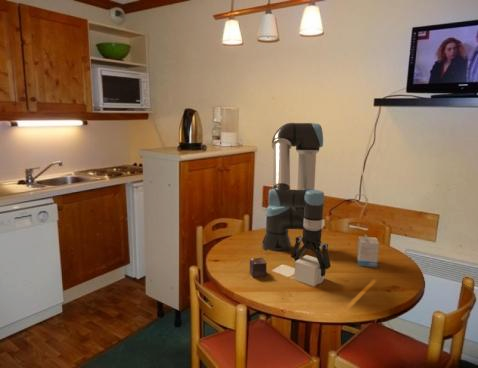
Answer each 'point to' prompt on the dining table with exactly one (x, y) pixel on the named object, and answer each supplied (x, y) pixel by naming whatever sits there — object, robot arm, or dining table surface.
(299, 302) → the dining table surface
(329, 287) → the dining table surface
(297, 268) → the block
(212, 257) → the dining table surface
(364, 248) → the ink box
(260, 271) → the box
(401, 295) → the dining table surface
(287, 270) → the pad
